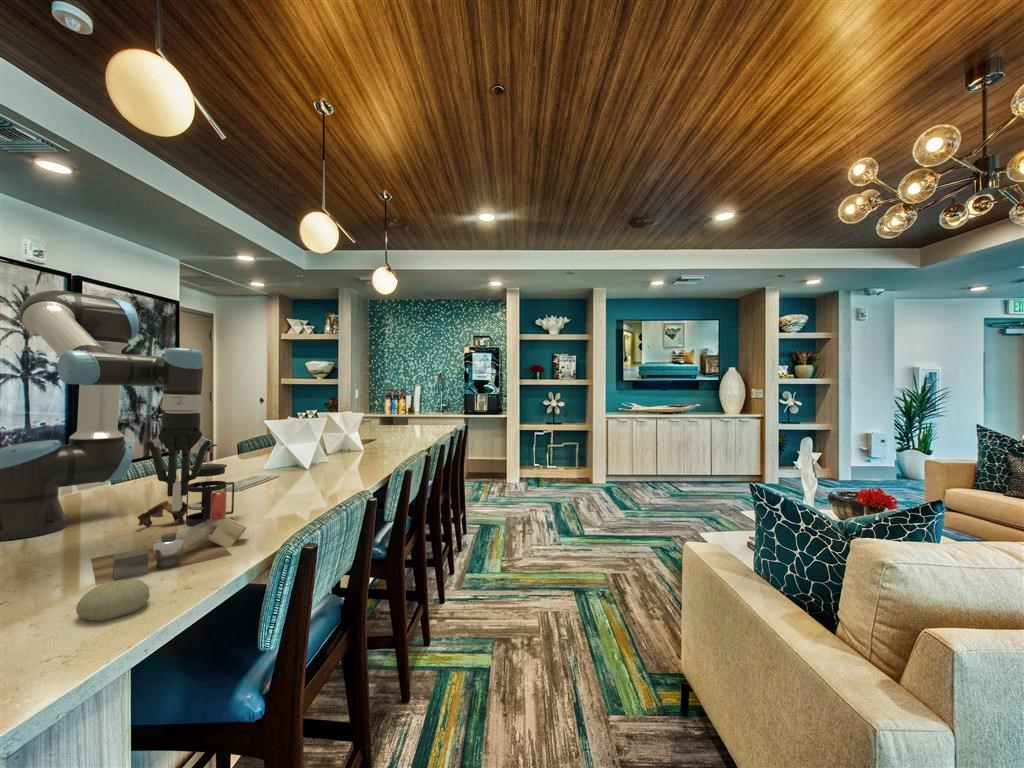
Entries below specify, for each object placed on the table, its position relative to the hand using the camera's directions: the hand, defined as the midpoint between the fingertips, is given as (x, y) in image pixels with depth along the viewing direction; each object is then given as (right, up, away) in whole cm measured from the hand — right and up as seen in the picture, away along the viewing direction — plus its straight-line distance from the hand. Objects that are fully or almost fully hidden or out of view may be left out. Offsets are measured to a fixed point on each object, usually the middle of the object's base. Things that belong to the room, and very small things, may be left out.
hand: (177, 509), depth 105 cm
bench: (+5, -9, -10) cm, 14 cm away
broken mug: (-15, -10, +15) cm, 24 cm away
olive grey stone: (+13, -9, -30) cm, 34 cm away
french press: (-4, -10, +16) cm, 19 cm away
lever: (+8, -6, -6) cm, 12 cm away
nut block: (+12, -8, -1) cm, 14 cm away
